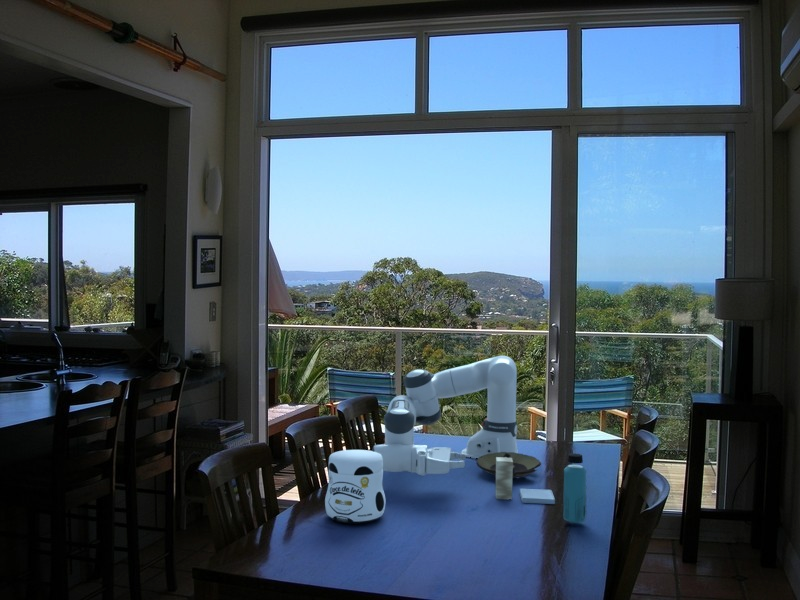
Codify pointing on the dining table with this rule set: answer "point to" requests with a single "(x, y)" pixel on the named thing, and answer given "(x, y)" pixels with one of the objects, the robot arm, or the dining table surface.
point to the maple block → (504, 478)
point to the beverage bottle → (575, 490)
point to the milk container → (355, 486)
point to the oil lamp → (520, 463)
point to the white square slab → (537, 496)
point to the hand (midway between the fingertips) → (464, 460)
